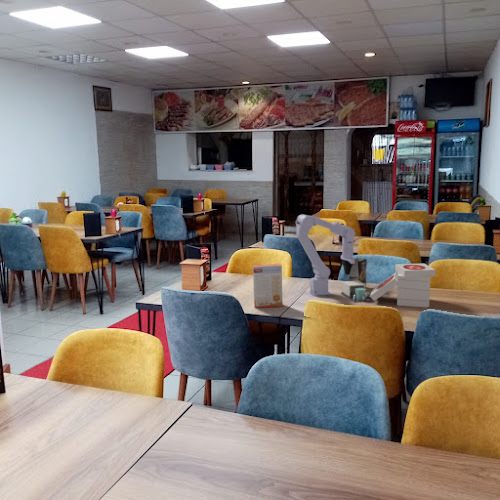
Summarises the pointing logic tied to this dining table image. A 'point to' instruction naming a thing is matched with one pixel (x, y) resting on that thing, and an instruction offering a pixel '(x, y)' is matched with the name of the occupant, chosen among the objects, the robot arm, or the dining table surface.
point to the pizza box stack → (408, 285)
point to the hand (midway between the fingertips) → (347, 274)
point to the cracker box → (267, 285)
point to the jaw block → (360, 293)
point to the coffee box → (358, 271)
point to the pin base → (352, 298)
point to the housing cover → (352, 286)
